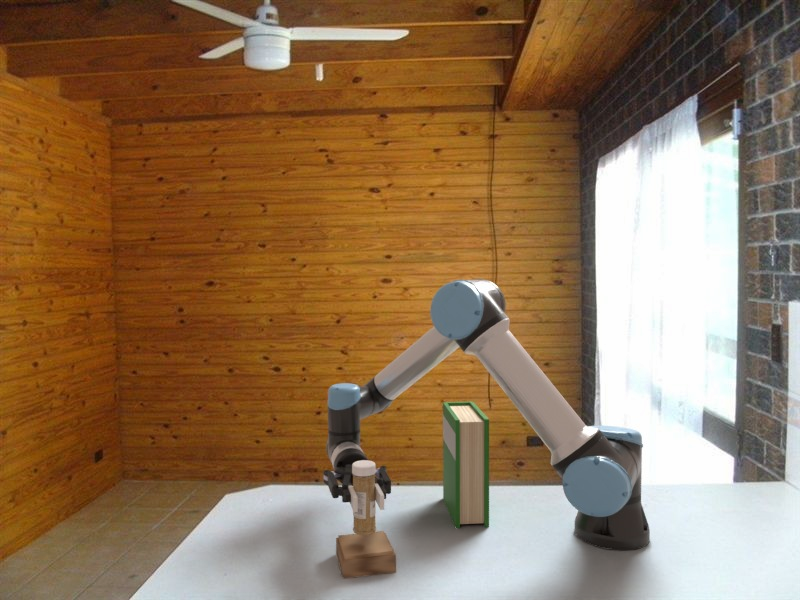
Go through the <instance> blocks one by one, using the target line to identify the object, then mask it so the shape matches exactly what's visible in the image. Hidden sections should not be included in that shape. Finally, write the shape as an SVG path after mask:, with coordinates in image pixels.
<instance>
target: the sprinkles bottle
mask: <svg viewBox="0 0 800 600" xmlns="http://www.w3.org/2000/svg"><path fill="white" fill-rule="evenodd" d="M376 466H377V465H376V462H374V461H372V460H369V459H368V460H360V461H356V462H354V463H353V464H352V474H353V488H354V490H355V493H356V495H357V497H358V512H353V511H352V514H353V528H352V531H353V534H358V535H370V534H373V533H374V532H377V526H376V513H377V512H376V500H375V477H376V475H375V473H376V469H377V467H376Z"/></svg>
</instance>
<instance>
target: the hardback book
mask: <svg viewBox="0 0 800 600" xmlns="http://www.w3.org/2000/svg"><path fill="white" fill-rule="evenodd" d="M442 462H443V463H442V477H443V478H442V481H443V483H442V487H443V488H442V493H443V495H442V500H443V502H444V503H445V506H446V508H448V509H447V511H448V513H450V514H449V516H450V515H451V516H450V518H451V521H452V520H453V521H452V523H453V522H454V523H453V525H455V526H454V528H455V527H456V528H458V529H461V525H468V524H469V525H471V524H472V525H473V524H482V525H483V524H484V525H483V526H484V528H489V527H490V418H489V417H488V416H487V415H486V414H485V413H484V412H483V411H482V410H481V408H480V407H478V405H477V404H476V403H475V401H448V402H447V401H446V402H444V401H442ZM456 528H455V529H456Z"/></svg>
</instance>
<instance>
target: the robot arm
mask: <svg viewBox="0 0 800 600" xmlns="http://www.w3.org/2000/svg"><path fill="white" fill-rule="evenodd" d="M506 306H507V303H506V298H505V295H504V293H503V291H502V289H500V287H499V286H498V285H496V283H494V282H492V281H491V280H487V279H483V278H475V279H468V280H466V279H455V280H453V281H451V282H448V283H446V284H444V285H442V286H441V287H440V288H439V289H438V290H437V291H436V292H435V294H434V296H433V298H432V300H431V303H430V319H431V323H432V324H433V327H431V328H430V329H429V330H428V331H426V332H425V333H424V334H423V335H421V337H420V338H418V339H417V340H416V341H415V342H414V343H412V344H411V345H410V346H409V347H407V349H406V350H405V349H404V351H402V352H401V353H400V355H398V356H397V357H396V358H394V359H393V360H392V361H391V362H390V363H389V364H387V365H386V366H385V367H384V368H383V369H382V370H380V371H379V372H378V373H377V374H376V375H375V376H373V378H371V379H370V380H369V381H367V382H366V383H365V384H363V385H361V386H359V385H358V384H355V383H351V382H348V383H347V382H342V383H335V384H333V385H331V386H330V387H329V388H328V392H327V402H326V403H327V424H328V425H327V426H328V427H327V429H328V432H327V437H328V438H327V441H326V453H327V457H328V459H329V460H330V462H331V465H332V467H333V470H334V471H331V470H328V469H325V470H323V484H324V485H327V487H328V490H329V491H330V494H331V495H330V496H331V497H332V498H333V499H338V498H339V497H341V502H342V503H349V504H350V507H351V508H352V513H353V512H358V497H357V495H356V493H355V490H354V488H353V474H352V464H353V463H354V462H356V461H360V460H369V459H368V457H367V456H366V454H365V452H364V450H363V449H362V447H361V420H363V419H366V418H369V417H371V416H372V415H375V414H377V413H381V412H383V411H384V410H387V408H389V407H390V406H391V405H392V403H393V401H394V400H395V399H396V398H398V397H399V396H400V395H401V394H402V393H403V392H405V391H407V390H408V389H409V388H410V387H412V386H413V384H416V382H417V381H419V380H420V379H422V378H423V377H424V376H425V375H427V374H428V373H429V372H430V371H431V370H433V368H435V367H436V366H438V365H439V364H440V363H441V362H442V361H444V360H445V359H447V358H448V357H449V356H450V355H451V354H452V353H454V352H455V351H456V350H458V349H459V348H460V349H461V351H462V352H463V353H464V354H465V355H470V356H475V357H477V359H478V360H479V362H480V363H481V364H482V365H483V367H484V368H485V369H486V370H487V372H488V373H489V375H491V377H492V378H493V379H494V381H495V382H496V383H497V385H498V386H499V387H500V388H501V389H502V391H503V392H504V393H505V395H506V396H507V398H508V399H509V400H510V401H511V403H512V404H513V405H514V406H515V407H516V409H517V410H518V411H519V413H520V414H521V415H522V417H523V418H524V419H525V420H526V422H527V423H528V424H529V425H530V427H531V428H532V429H533V430H534V432H535V433H536V434H537V436H538V437H539V438H540V439H541V441H542V442H543V443H544V445H545V446H546V447H547V449H548V450H549V451H550V454H551V457H550V464H551V466H552V468H553V469H554V471H556V473H557V474H558V476H559V477H560V478H561V479H562V490H563V494H564V496H565V497H566V499H567V501H568V502H569V503H570V505H571V506H572V507H574V509H576V510H577V513H576V516H575V519H574V534H575V535H576V537H577V538H578V539H580V540H581V541H582V542H584V543H587V544H589V545H592V546H594V547H599V548H602V549H607V550H614V551H615V550H616V551H631V550H638V549H641V548H643V547H645V546H646V547H647V545H648V544H649V543H650V539H651V538H650V537H651V536H650V534H651V533H650V526H649V523H648V519H647V517H646V516H647V515H646V513H645V510H644V507H643V504H642V471H643V469H642V468H643V467H642V465H643V463H642V462H643V461H642V460H643V459H642V458H643V457H642V454H643V452H642V451H643V448H644V444H643V436H642V434H641V432H640V431H638V430H636V429H633V428H627V427H622V426H613V425H586V424H585V422H584V421H583V420H582V419H581V417H580V416H579V414H577V413H576V411H575V410H574V409H573V407H572V406H571V405H570V403H569V402H568V401H567V400H566V399H565V398H564V397H563V395H562V394H561V393H560V391H559V390H558V389H557V388H556V387H555V385H554V384H553V382H552V381H551V380H550V379H549V377H548V376H547V375H546V374H545V373H544V372H543V370H542V369H541V368H540V367H539V366H538V364H537V363H536V362H535V360H534V359H533V358H532V357H531V355H530V354H529V353H528V352H527V351H526V349H525V348H524V347H523V345H521V344H522V343H520V342H519V340H518V339H517V338H516V337H515V336H514V335H513V333H512V332H511V331H510V322H511V321H510V320H511V319H510V318H509V316H508V315H507V314H506V309H507V308H506ZM338 481H339V482H340V483H341V484H342V485H341V486H340V485H339V483H338ZM391 493H392V480H391V478H390V477H389V474H388V473H387V466H386V465H382V466H380V467H378V468H377V467H376V473H375V503H376V504H377V506H378V508H379V510H380V511H383V510H385V500H386V499H387V495H389V494H391Z"/></svg>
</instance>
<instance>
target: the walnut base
mask: <svg viewBox="0 0 800 600" xmlns="http://www.w3.org/2000/svg"><path fill="white" fill-rule="evenodd" d="M335 542H336V543H335V546H336V547H335V552H336V553H335V554H336V558H337V561H338V564H339V568H340V572H341V577H342V579H343V580H344V579H350V578H358V577H367V576H368V577H369V576H376V575H386V574H392V573H393V574H394V573H397V553H396V552H395V550H394V547H393V545H392V543H391V542H390V539H389V538H388V536H387V533H386V532H385V531H384V530H380V531H377V530H376V531H375V532H374V533H373V534H370V535H358V534H356V533H350V534H341V535H338V536H337V537H336V538H335Z"/></svg>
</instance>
